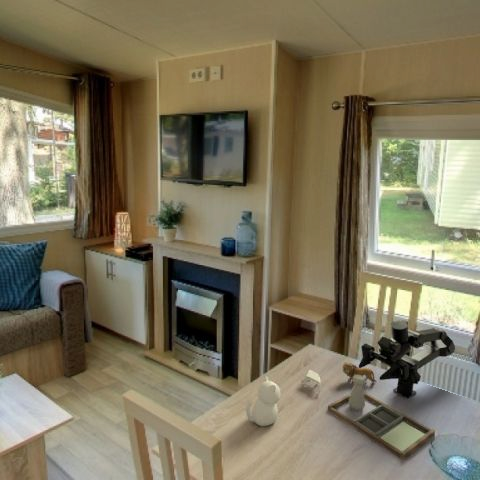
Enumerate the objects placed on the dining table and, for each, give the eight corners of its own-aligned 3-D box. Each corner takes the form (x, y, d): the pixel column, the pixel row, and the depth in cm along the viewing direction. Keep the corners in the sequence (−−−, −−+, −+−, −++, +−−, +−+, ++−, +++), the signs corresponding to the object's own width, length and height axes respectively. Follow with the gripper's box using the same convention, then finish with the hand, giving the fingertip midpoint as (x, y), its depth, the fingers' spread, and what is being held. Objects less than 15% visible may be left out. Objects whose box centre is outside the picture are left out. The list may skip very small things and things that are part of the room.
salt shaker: (365, 414, 143) (368, 382, 141) (348, 412, 144) (351, 379, 142) (363, 405, 149) (366, 373, 146) (347, 402, 150) (350, 371, 147)
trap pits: (381, 407, 148) (382, 404, 147) (403, 420, 141) (403, 416, 140) (353, 424, 138) (353, 420, 137) (375, 439, 131) (375, 435, 130)
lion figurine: (343, 386, 161) (345, 366, 159) (339, 379, 166) (341, 359, 164) (378, 385, 162) (381, 365, 160) (373, 378, 167) (375, 359, 165)
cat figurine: (284, 425, 136) (287, 385, 134) (251, 433, 131) (253, 392, 129) (271, 410, 145) (274, 372, 142) (240, 417, 139) (242, 378, 137)
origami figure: (295, 383, 162) (296, 372, 161) (311, 378, 166) (312, 367, 165) (314, 398, 152) (315, 387, 151) (331, 392, 156) (332, 381, 155)
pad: (402, 422, 139) (403, 421, 139) (426, 436, 133) (426, 435, 133) (379, 438, 131) (379, 437, 131) (403, 453, 125) (403, 452, 124)
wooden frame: (359, 393, 156) (359, 388, 156) (434, 435, 133) (435, 430, 133) (327, 410, 145) (327, 405, 145) (403, 460, 122) (404, 454, 121)
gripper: (373, 324, 154) (346, 343, 147) (417, 343, 139) (389, 366, 132) (376, 347, 158) (350, 367, 151) (419, 368, 143) (392, 392, 136)
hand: (369, 372), depth 142 cm, fingers open, 9 cm apart
